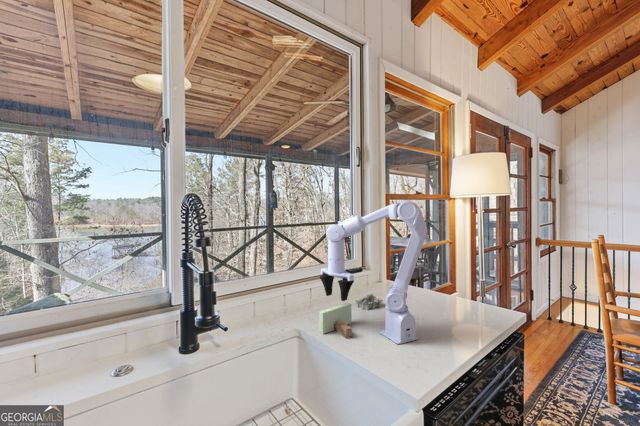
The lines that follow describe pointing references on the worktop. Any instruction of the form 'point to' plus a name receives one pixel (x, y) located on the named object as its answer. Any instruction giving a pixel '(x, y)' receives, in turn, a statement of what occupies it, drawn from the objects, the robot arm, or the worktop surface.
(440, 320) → the worktop surface
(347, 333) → the walnut board
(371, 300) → the egg carton
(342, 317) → the long pale green beam
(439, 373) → the worktop surface
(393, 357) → the worktop surface
